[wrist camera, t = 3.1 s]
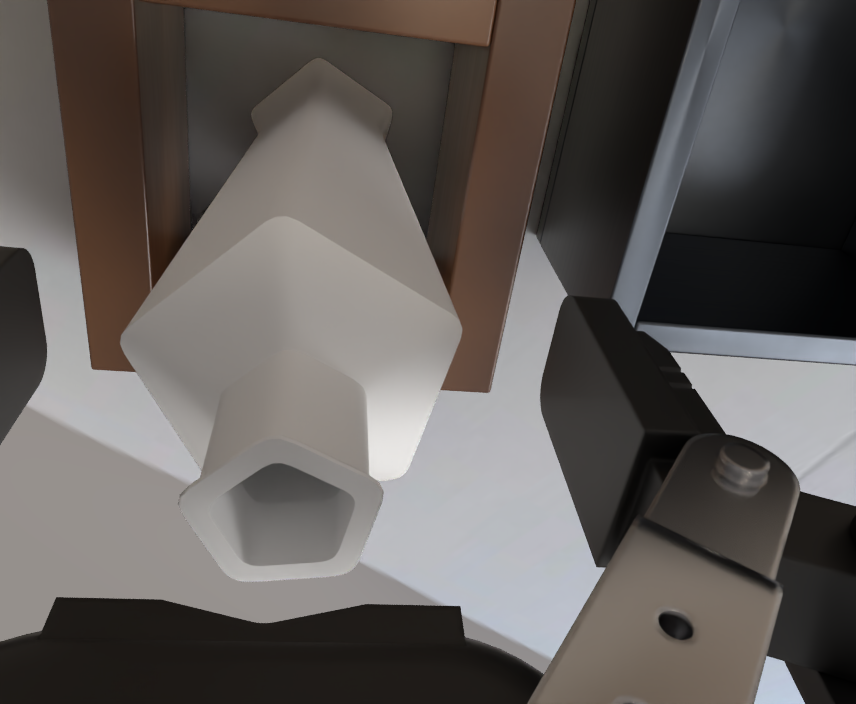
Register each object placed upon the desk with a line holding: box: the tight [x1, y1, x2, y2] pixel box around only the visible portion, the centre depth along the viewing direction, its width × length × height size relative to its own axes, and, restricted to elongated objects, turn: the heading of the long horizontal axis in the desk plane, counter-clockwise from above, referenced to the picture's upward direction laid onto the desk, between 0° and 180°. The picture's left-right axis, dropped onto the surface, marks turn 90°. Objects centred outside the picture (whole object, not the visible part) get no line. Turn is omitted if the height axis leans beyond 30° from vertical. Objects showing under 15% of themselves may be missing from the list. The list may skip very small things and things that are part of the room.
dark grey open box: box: [537, 0, 856, 365], centre depth 17 cm, size 11×14×7 cm
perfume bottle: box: [120, 58, 463, 582], centre depth 14 cm, size 5×4×15 cm
